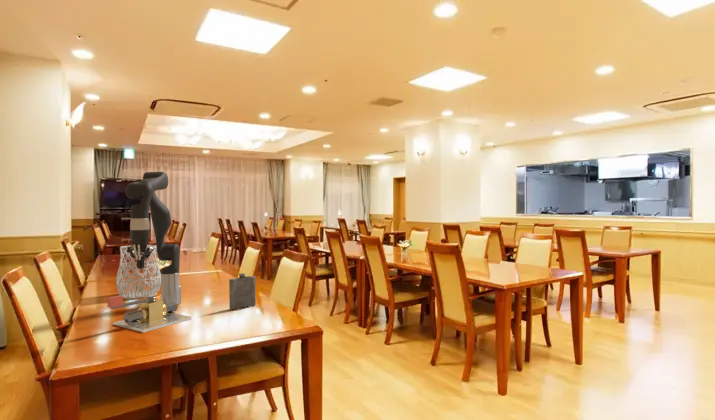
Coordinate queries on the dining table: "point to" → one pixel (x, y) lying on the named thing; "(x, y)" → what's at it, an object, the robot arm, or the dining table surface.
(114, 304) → the lever
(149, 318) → the valve
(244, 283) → the flask
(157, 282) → the vase
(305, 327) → the dining table surface
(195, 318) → the dining table surface
